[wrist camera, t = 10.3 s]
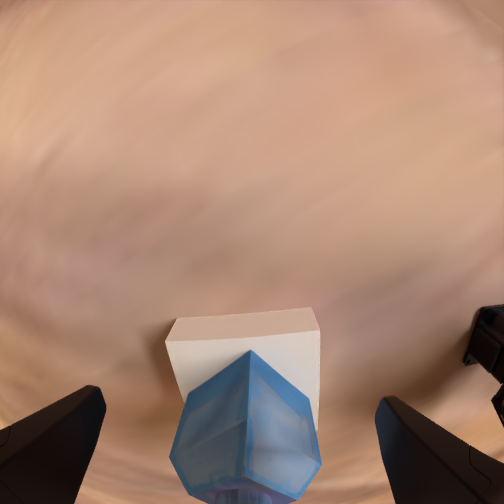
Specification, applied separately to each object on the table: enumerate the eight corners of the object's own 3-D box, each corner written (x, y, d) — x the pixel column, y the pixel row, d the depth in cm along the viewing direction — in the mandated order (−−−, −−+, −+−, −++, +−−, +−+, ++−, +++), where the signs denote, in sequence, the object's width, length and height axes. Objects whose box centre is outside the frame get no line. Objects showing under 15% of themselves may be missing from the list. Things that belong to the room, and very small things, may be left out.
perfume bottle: (188, 393, 19) (146, 537, 8) (251, 349, 18) (241, 524, 7) (247, 434, 20) (239, 565, 9) (309, 398, 19) (335, 546, 8)
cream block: (309, 303, 22) (320, 329, 18) (310, 399, 24) (317, 430, 20) (178, 314, 22) (165, 341, 18) (202, 407, 25) (196, 437, 21)
